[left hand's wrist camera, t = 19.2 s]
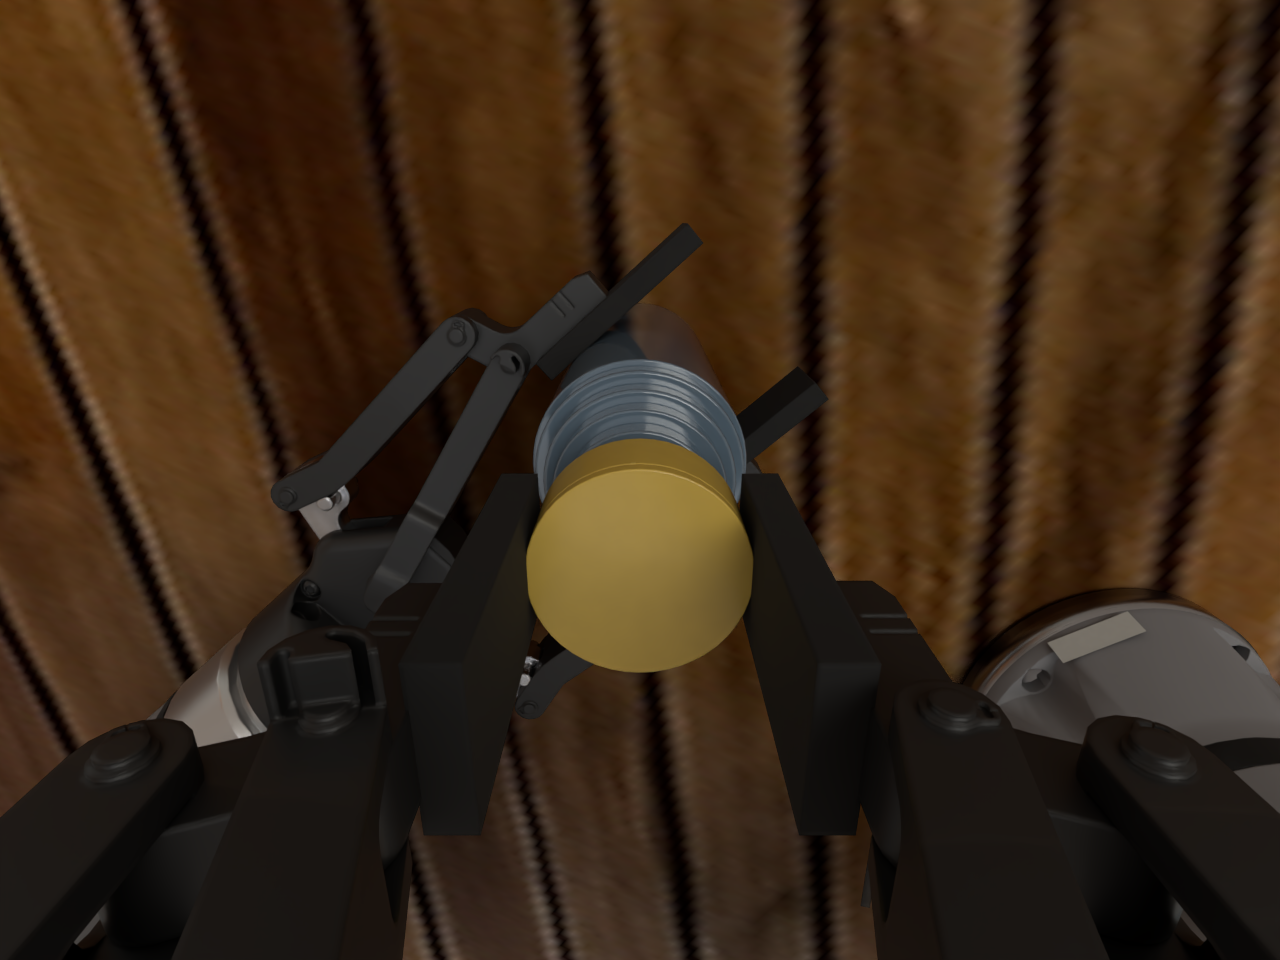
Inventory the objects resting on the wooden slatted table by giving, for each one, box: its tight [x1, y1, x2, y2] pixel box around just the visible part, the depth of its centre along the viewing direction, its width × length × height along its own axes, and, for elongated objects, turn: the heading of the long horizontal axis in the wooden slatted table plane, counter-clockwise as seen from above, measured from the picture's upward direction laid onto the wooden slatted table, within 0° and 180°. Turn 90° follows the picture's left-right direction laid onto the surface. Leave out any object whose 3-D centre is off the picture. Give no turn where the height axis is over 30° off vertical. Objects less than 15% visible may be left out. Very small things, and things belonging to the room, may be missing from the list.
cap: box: [526, 438, 753, 673], centre depth 14 cm, size 4×4×2 cm
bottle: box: [533, 303, 746, 504], centre depth 22 cm, size 6×6×18 cm
